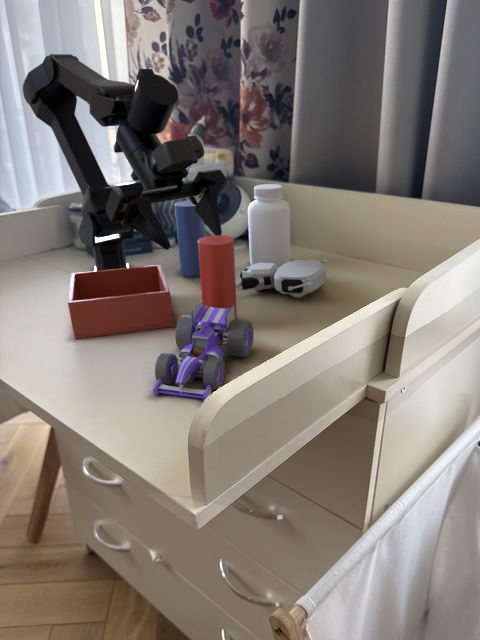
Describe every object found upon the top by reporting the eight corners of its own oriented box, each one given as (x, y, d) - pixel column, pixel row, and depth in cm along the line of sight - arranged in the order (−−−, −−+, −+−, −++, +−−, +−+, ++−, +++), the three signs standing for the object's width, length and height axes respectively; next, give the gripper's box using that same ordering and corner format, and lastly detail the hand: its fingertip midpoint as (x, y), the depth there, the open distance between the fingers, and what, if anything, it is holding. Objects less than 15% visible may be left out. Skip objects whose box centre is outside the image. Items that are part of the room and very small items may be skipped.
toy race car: (141, 395, 64) (135, 345, 61) (189, 340, 77) (186, 297, 74) (218, 405, 62) (215, 354, 59) (254, 347, 75) (253, 303, 72)
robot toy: (229, 302, 91) (316, 305, 87) (226, 277, 90) (315, 278, 85) (253, 279, 102) (331, 280, 97) (250, 255, 100) (331, 256, 95)
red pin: (201, 320, 83) (195, 236, 77) (233, 316, 85) (229, 233, 79) (207, 333, 79) (201, 246, 73) (240, 329, 80) (237, 242, 74)
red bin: (77, 305, 89) (71, 273, 87) (163, 295, 93) (160, 264, 90) (74, 339, 78) (67, 302, 76) (173, 326, 81) (170, 291, 79)
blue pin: (179, 269, 105) (173, 201, 99) (204, 267, 106) (200, 199, 100) (182, 278, 101) (176, 207, 95) (209, 275, 102) (205, 205, 96)
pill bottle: (252, 257, 111) (250, 182, 104) (292, 258, 110) (292, 182, 103) (246, 270, 104) (243, 190, 97) (288, 271, 103) (288, 190, 96)
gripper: (102, 121, 70) (157, 220, 68) (216, 112, 81) (267, 197, 79) (85, 177, 79) (133, 267, 77) (190, 162, 90) (235, 240, 88)
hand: (195, 241), depth 80 cm, fingers open, 9 cm apart
